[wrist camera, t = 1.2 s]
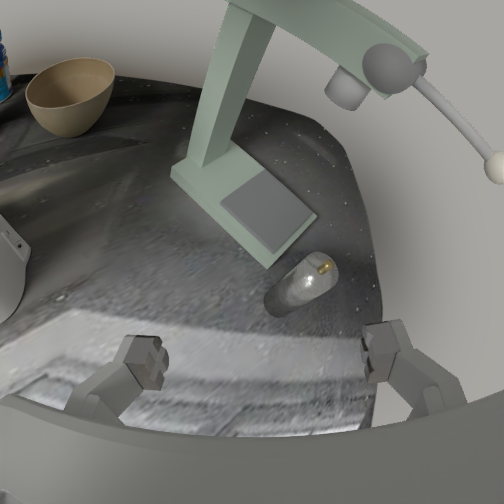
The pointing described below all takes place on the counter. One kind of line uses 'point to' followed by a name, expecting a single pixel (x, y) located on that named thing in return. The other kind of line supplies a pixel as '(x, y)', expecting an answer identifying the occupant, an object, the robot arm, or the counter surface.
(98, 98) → the beige bowl
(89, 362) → the counter surface
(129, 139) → the counter surface
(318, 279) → the housing
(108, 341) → the counter surface
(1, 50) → the beverage bottle
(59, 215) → the counter surface
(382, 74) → the press
